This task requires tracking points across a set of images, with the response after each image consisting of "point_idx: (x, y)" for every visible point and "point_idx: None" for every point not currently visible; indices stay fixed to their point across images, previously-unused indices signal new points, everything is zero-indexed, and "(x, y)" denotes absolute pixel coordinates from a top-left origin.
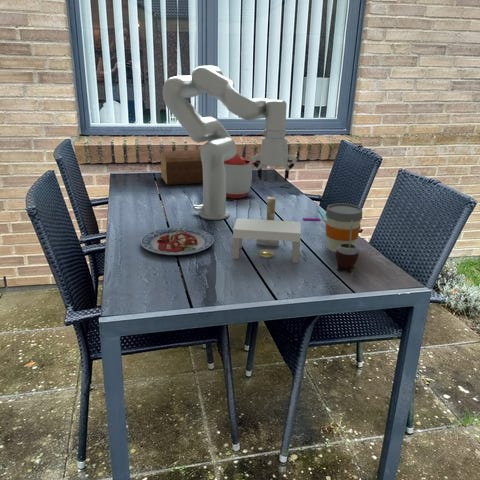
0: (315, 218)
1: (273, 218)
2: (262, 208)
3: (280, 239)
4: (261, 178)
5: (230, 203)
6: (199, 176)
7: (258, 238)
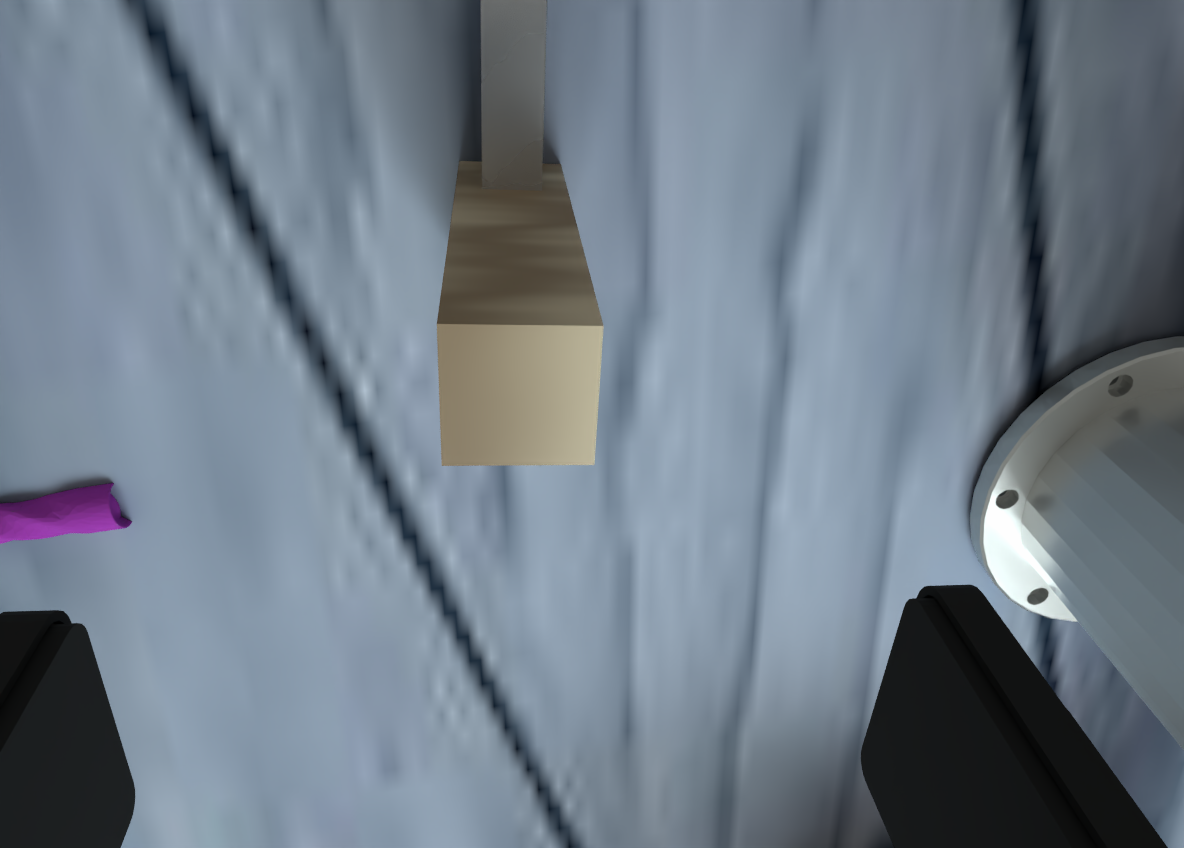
0: None
1: (465, 200)
2: (607, 735)
3: None
4: (891, 685)
5: None
6: None
7: None
